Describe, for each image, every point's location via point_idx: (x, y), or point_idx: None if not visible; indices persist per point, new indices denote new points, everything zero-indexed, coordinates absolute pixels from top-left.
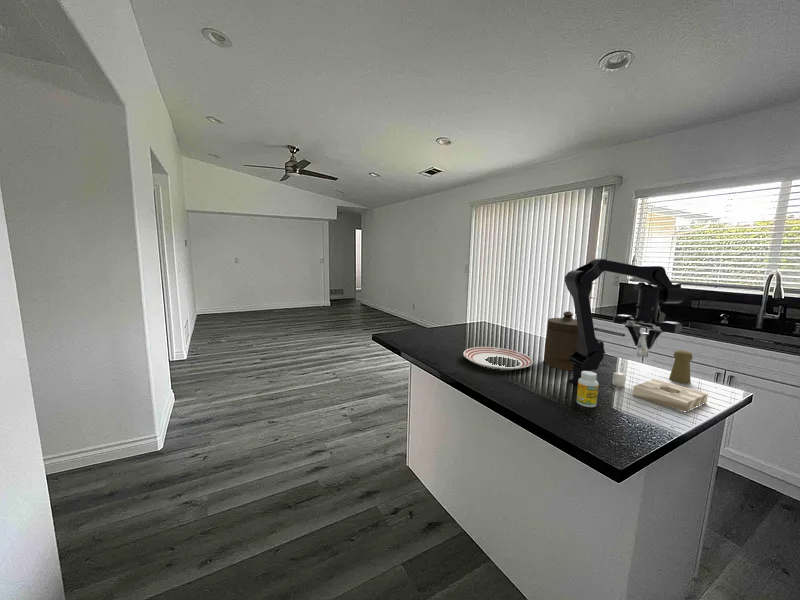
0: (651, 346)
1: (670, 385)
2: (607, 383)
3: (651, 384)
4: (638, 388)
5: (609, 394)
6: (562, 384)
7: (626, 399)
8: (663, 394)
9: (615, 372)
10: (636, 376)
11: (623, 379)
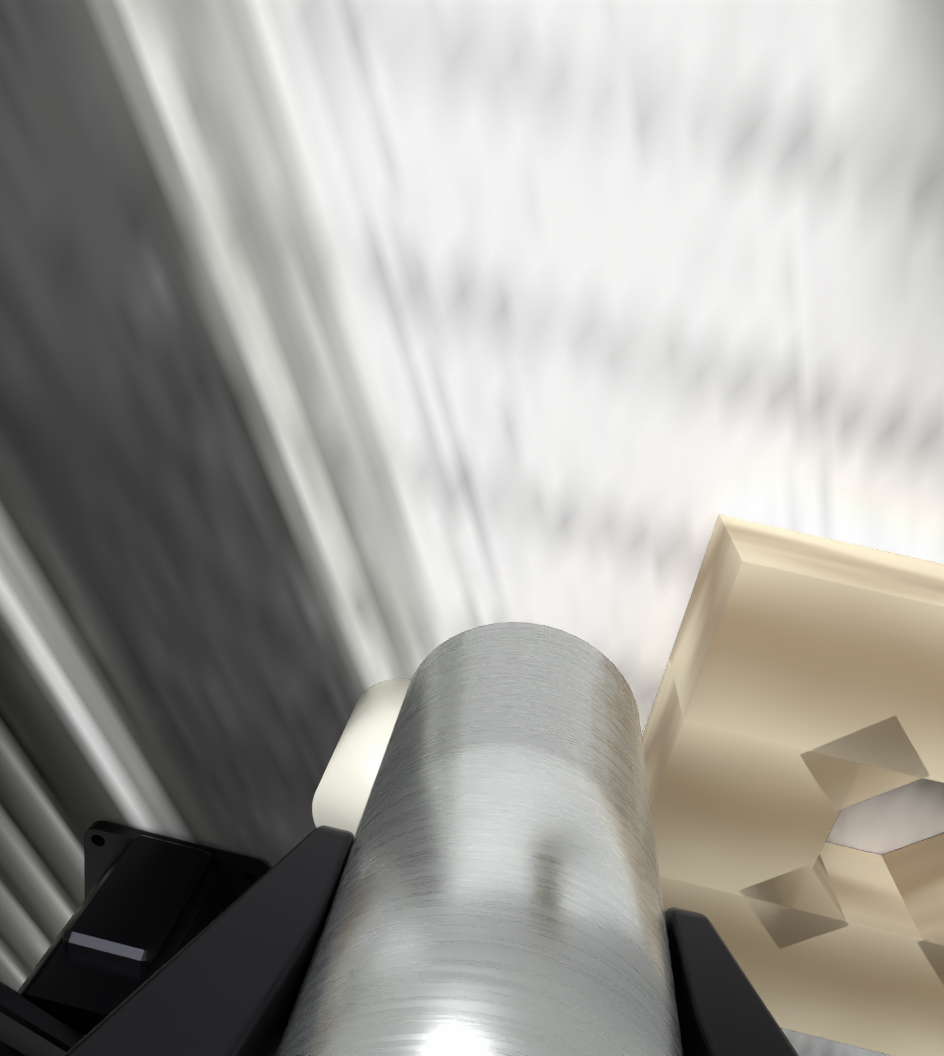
0: (737, 1003)
1: (932, 700)
2: (319, 755)
3: (728, 819)
4: None
5: None
6: None
7: None
8: (864, 1029)
9: (322, 796)
10: (439, 182)
11: None
